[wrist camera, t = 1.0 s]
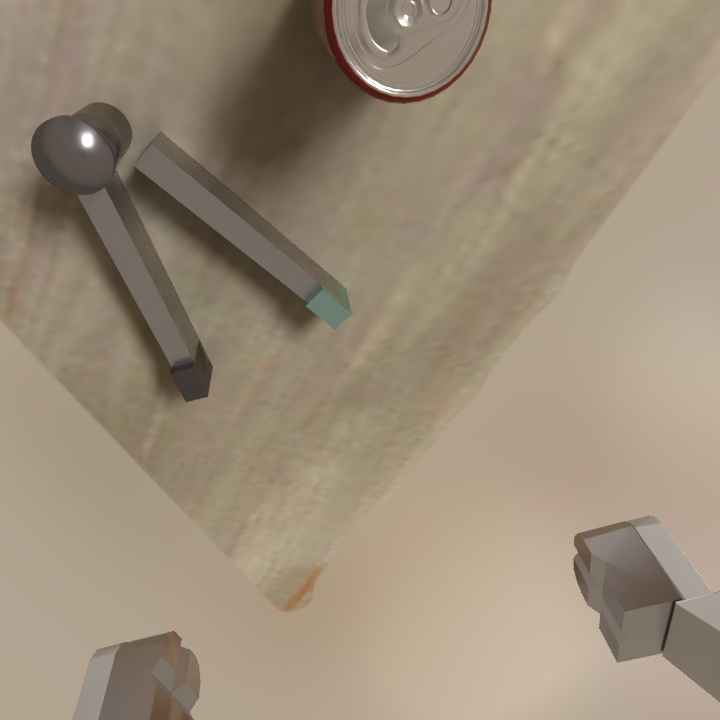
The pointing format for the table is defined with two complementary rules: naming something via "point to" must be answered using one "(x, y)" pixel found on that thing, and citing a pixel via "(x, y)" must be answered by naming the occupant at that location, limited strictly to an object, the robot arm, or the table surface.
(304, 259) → the bar
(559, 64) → the table surface
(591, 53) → the table surface
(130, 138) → the tongs base
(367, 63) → the soda can
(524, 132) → the table surface
